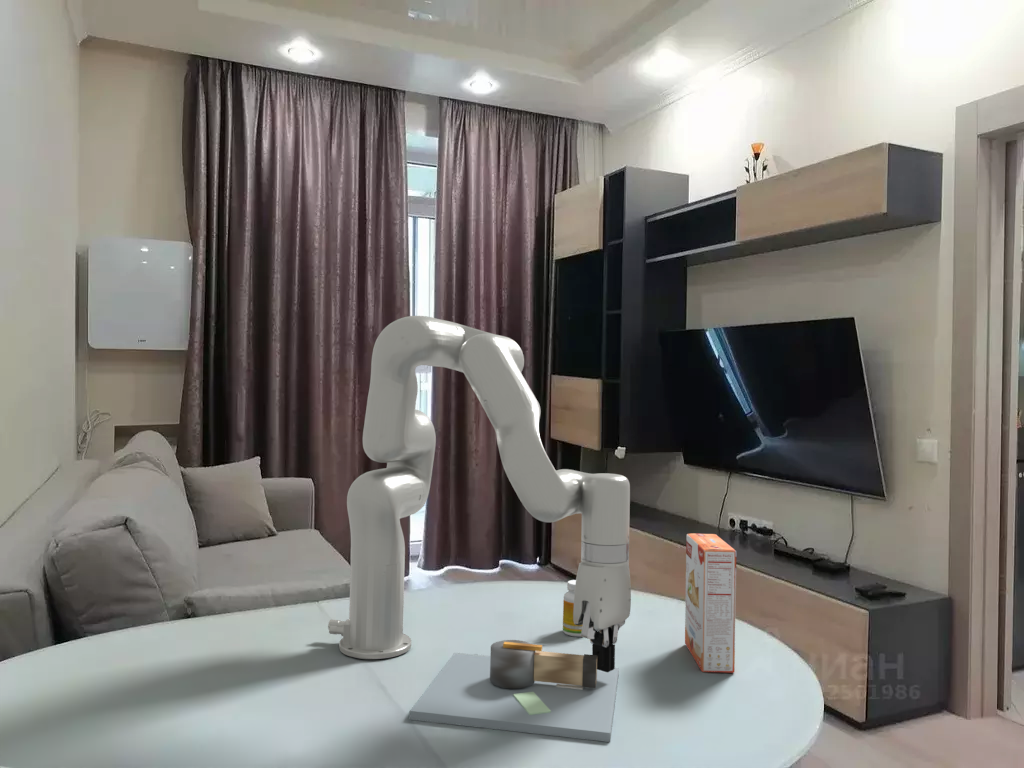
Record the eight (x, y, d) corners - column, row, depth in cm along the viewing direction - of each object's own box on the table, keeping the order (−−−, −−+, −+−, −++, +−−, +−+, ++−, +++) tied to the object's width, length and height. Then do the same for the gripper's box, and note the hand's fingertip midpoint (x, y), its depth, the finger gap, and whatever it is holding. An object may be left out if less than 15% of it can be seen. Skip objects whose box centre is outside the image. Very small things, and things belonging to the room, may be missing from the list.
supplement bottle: (589, 638, 143) (590, 586, 143) (560, 635, 144) (562, 584, 144) (591, 629, 148) (593, 579, 148) (564, 627, 149) (565, 577, 149)
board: (409, 719, 106) (409, 709, 106) (454, 659, 130) (454, 651, 130) (610, 742, 101) (610, 731, 101) (618, 675, 125) (618, 666, 125)
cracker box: (682, 644, 141) (685, 532, 141) (715, 645, 141) (717, 533, 141) (699, 673, 127) (702, 548, 127) (735, 674, 126) (738, 549, 127)
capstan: (485, 686, 115) (486, 649, 115) (494, 669, 122) (495, 634, 122) (594, 697, 112) (595, 659, 112) (597, 679, 119) (598, 643, 119)
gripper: (611, 542, 128) (609, 651, 127) (557, 556, 116) (555, 676, 116) (650, 549, 123) (648, 662, 123) (598, 564, 111) (596, 689, 111)
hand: (603, 668), depth 119 cm, fingers closed
